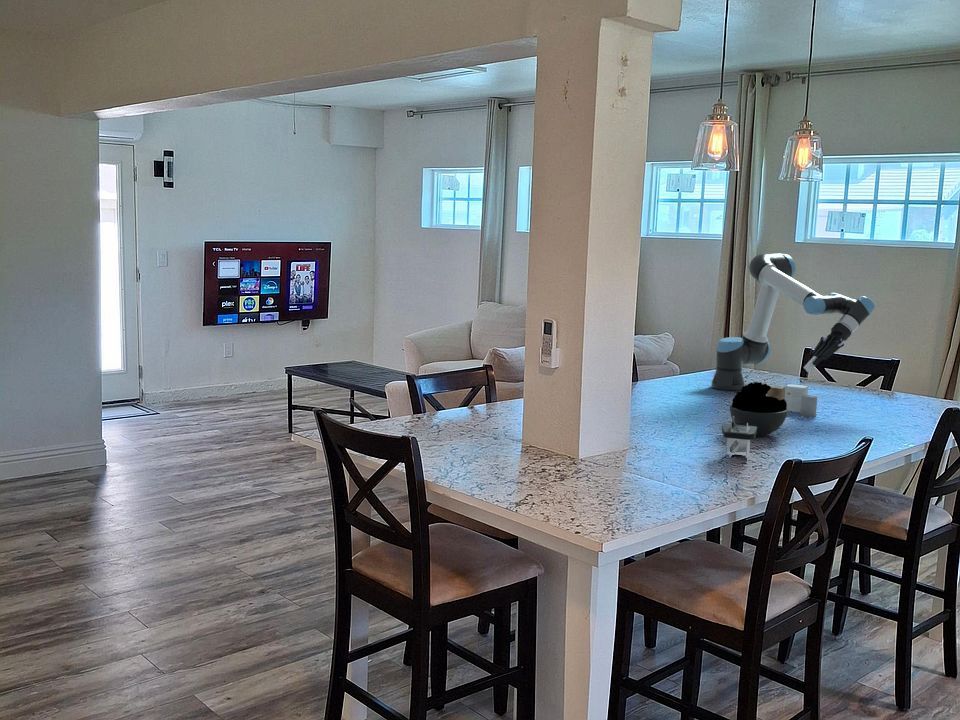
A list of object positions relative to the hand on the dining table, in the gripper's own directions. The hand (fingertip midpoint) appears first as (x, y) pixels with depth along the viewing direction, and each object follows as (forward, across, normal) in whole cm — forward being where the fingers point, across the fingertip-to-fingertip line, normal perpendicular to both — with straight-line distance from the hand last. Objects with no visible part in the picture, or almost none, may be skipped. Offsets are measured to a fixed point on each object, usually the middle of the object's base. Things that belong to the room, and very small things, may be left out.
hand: (806, 369), depth 368 cm
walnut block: (+16, +13, -9) cm, 22 cm away
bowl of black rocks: (+43, -34, +19) cm, 58 cm away
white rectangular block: (+16, -10, -8) cm, 20 cm away
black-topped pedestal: (+61, -63, +36) cm, 95 cm away
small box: (+15, +1, -10) cm, 18 cm away
